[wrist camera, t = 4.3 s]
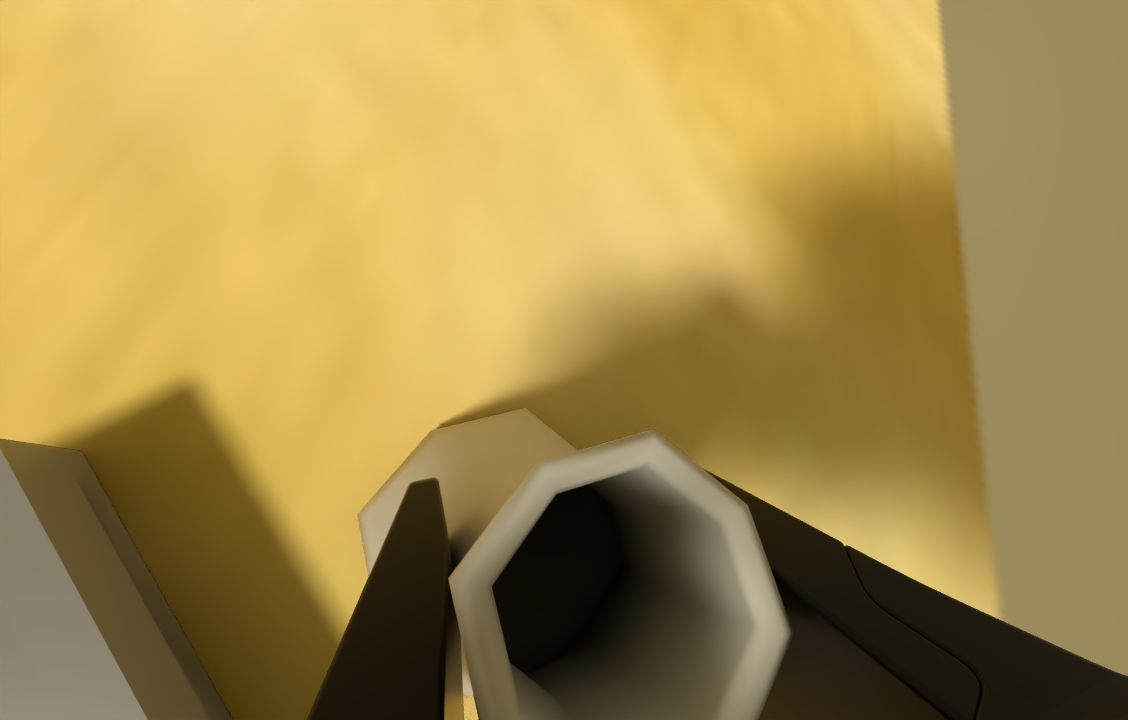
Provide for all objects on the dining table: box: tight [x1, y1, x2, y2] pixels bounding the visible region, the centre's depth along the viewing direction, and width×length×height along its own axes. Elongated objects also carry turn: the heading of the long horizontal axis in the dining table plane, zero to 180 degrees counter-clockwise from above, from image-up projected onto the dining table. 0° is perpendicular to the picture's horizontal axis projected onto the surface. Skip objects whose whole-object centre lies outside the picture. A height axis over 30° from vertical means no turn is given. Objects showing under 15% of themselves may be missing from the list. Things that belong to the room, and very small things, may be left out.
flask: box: [357, 408, 794, 720], centre depth 9 cm, size 7×7×10 cm
